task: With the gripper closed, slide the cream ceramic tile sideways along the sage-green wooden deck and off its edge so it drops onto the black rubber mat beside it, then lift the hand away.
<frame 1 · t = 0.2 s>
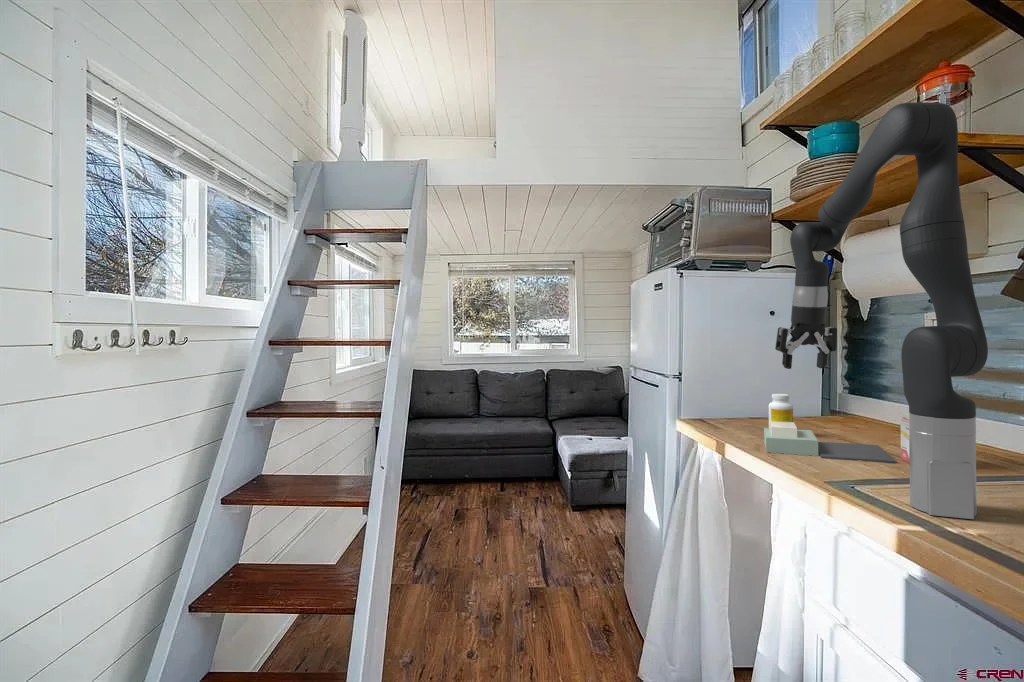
hand: (804, 368, 129), 23 cm above the countertop, tool pointing down, fingers open, 8 cm apart
ink cartridge box: (920, 464, 122), on the countertop
deck: (789, 448, 140), on the countertop
mat: (850, 452, 134), on the countertop
supplement bottle: (781, 437, 155), on the countertop
tile: (783, 429, 140), point 5 cm above the countertop, touching deck
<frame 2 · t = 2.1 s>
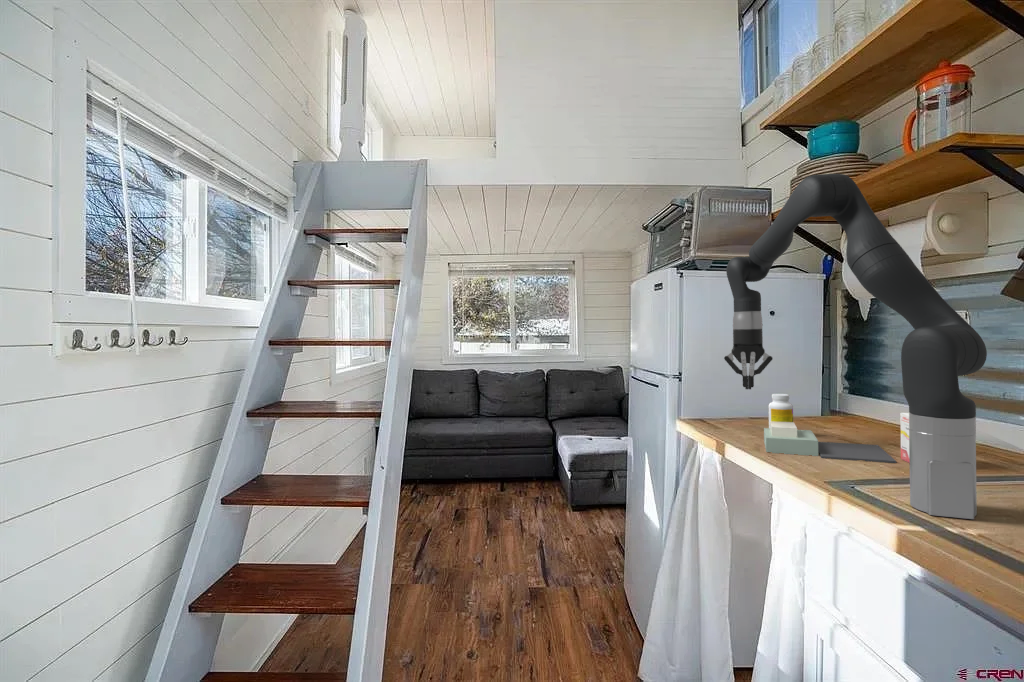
hand: (748, 389, 144), 16 cm above the countertop, tool pointing down, fingers closed
nothing on the countertop moved.
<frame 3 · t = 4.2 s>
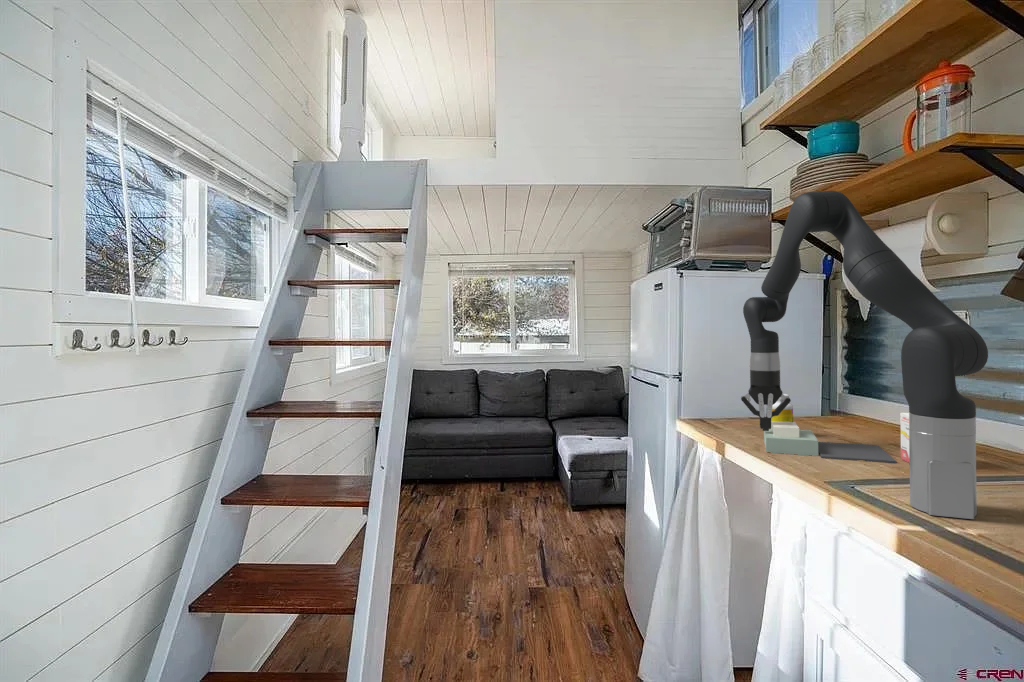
hand: (765, 430, 142), 5 cm above the countertop, tool pointing down, fingers closed
nothing on the countertop moved.
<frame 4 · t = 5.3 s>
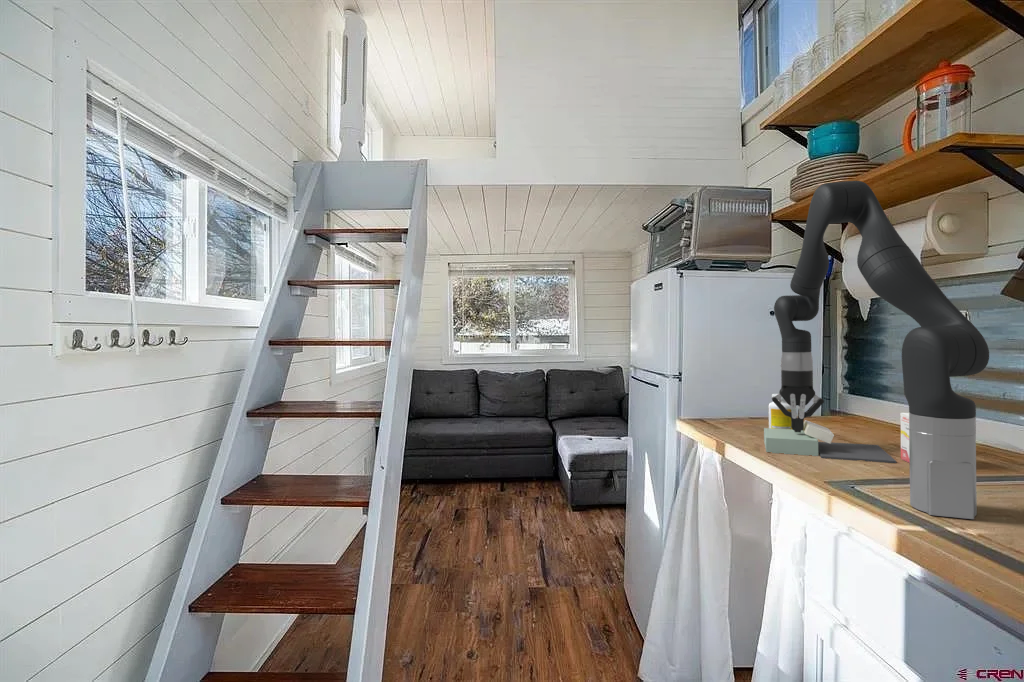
hand: (797, 431, 139), 5 cm above the countertop, tool pointing down, fingers closed
tile: (817, 431, 137), point 5 cm above the countertop, tilted 21°, touching deck
everything else where it was.
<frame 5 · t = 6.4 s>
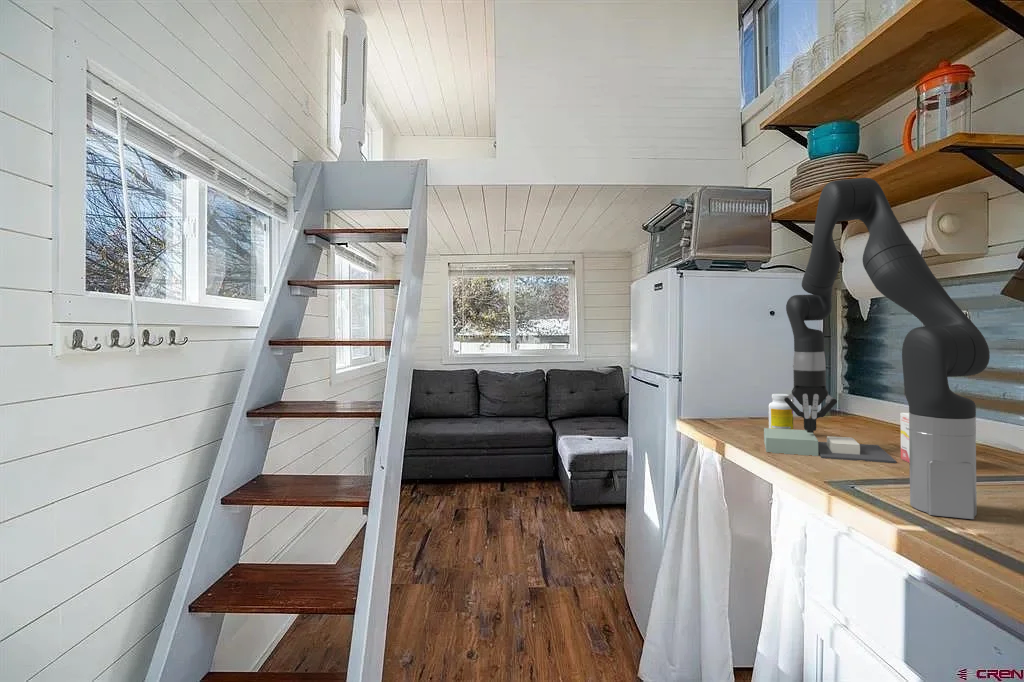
hand: (810, 432, 138), 5 cm above the countertop, tool pointing down, fingers closed
tile: (842, 445, 135), point 2 cm above the countertop, tilted 180°, touching mat
everything else where it was.
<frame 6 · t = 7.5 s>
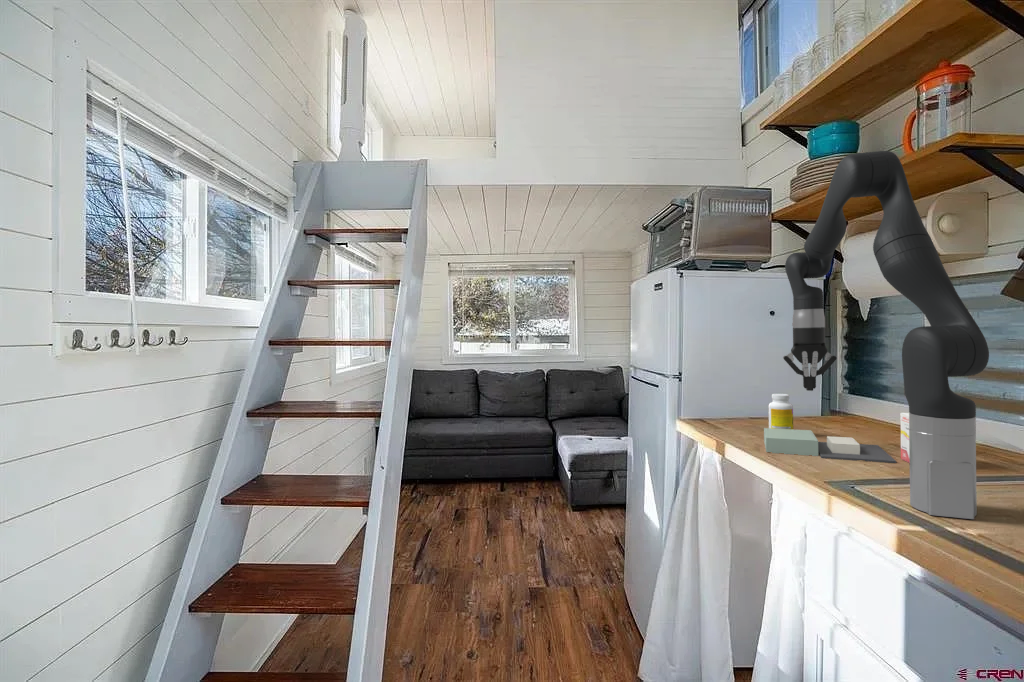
hand: (809, 390, 137), 16 cm above the countertop, tool pointing down, fingers closed
nothing on the countertop moved.
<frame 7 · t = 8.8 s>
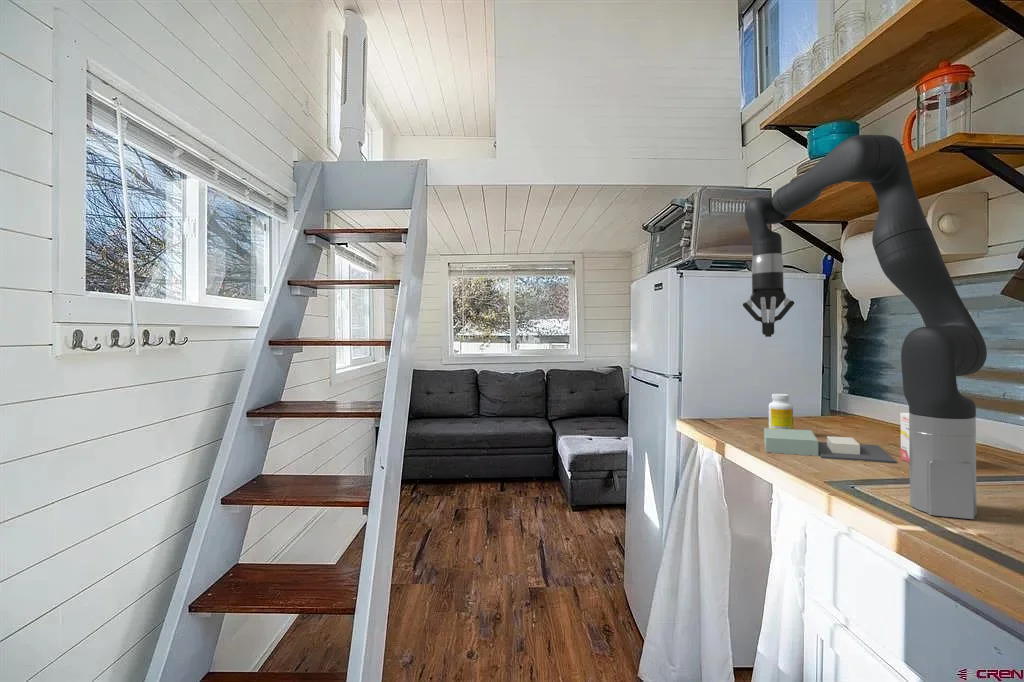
hand: (768, 336, 137), 31 cm above the countertop, tool pointing down, fingers closed
nothing on the countertop moved.
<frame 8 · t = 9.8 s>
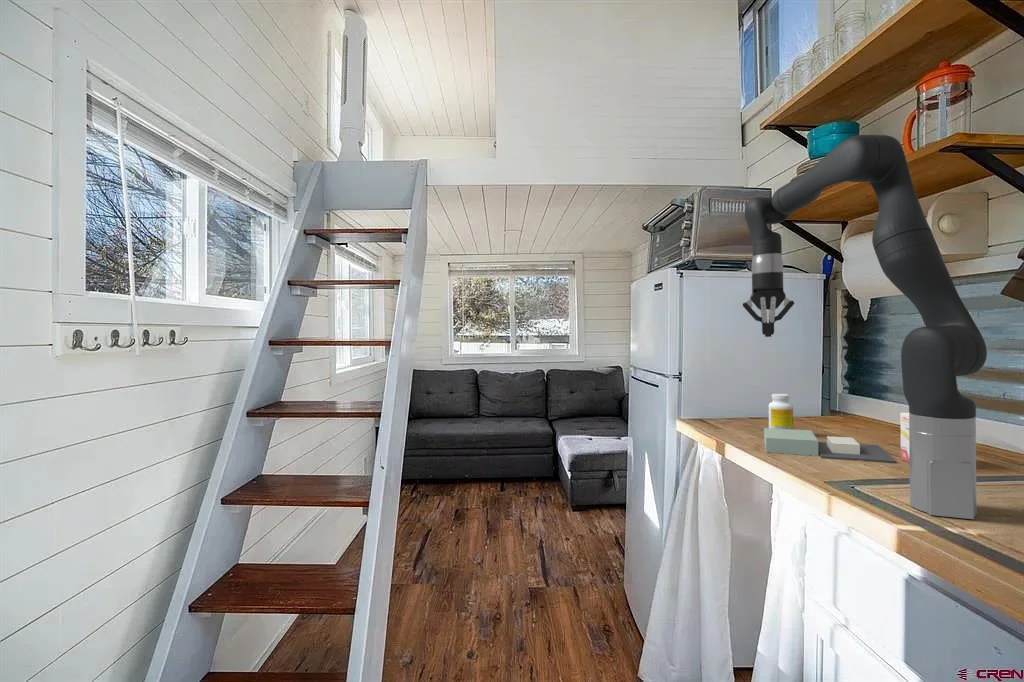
hand: (768, 336, 137), 31 cm above the countertop, tool pointing down, fingers closed
nothing on the countertop moved.
at the end: tile inside the target area (1.0 cm from its centre), point 1.7 cm above the countertop; tile touching mat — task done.
